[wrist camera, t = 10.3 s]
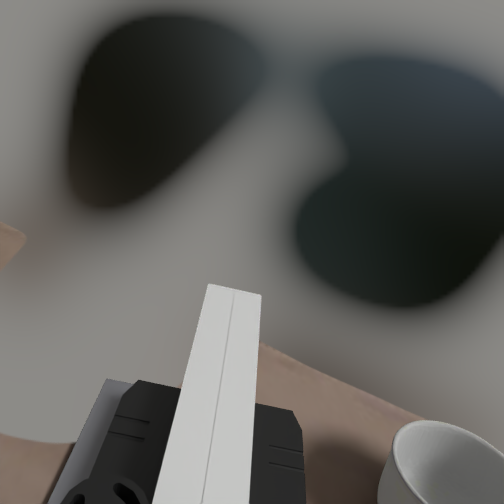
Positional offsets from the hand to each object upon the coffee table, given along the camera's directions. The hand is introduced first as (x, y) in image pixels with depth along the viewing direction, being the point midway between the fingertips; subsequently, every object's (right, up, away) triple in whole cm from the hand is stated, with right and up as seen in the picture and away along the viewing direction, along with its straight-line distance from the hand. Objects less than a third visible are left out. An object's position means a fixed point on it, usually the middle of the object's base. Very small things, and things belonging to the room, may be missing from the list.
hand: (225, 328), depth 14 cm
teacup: (+17, -22, +27) cm, 39 cm away
